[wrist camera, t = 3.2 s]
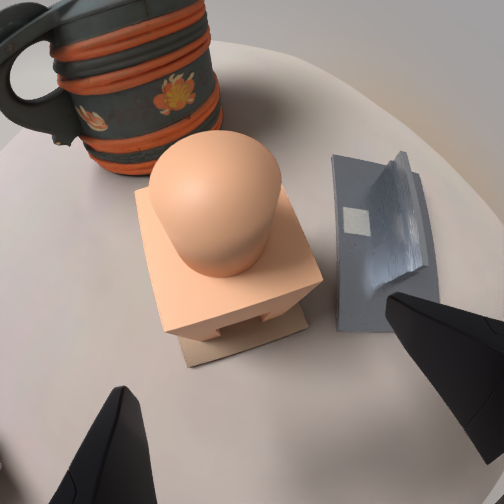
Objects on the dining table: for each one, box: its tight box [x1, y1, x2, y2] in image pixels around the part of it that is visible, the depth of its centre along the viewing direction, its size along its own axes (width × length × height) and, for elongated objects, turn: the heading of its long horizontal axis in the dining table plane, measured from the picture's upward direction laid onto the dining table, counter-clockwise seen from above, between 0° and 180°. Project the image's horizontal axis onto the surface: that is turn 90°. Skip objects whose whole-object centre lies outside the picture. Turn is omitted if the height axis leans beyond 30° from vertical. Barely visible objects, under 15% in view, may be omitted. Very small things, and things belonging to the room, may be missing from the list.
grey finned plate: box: [331, 151, 439, 332], centre depth 20 cm, size 16×10×5 cm, turn 175°
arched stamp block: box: [135, 130, 323, 342], centre depth 14 cm, size 6×6×14 cm
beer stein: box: [0, 0, 223, 175], centre depth 16 cm, size 19×15×20 cm
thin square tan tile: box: [177, 302, 308, 368], centre depth 20 cm, size 9×9×1 cm
